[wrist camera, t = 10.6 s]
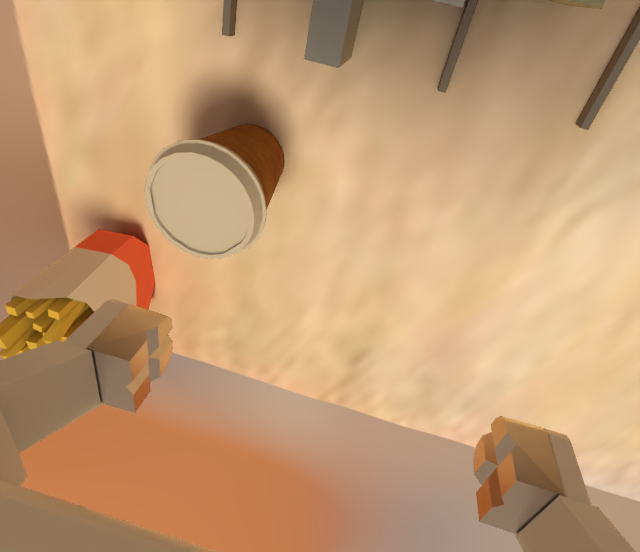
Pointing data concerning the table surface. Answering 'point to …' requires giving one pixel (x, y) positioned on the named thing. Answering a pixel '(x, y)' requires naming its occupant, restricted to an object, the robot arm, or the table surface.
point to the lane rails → (633, 35)
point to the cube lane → (583, 3)
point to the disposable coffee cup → (215, 190)
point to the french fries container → (77, 290)
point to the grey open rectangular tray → (338, 30)
